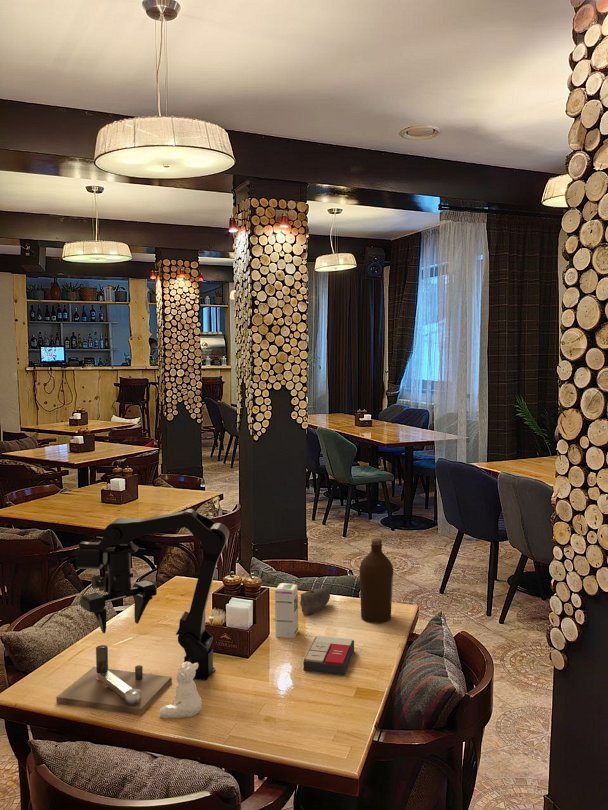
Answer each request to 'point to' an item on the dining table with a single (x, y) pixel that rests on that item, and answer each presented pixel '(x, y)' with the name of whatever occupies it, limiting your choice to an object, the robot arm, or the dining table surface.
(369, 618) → the olive oil
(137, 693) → the lever
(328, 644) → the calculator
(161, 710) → the sitting furry creature
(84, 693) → the board
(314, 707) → the dining table surface
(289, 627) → the syrup box
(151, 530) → the robot arm
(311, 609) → the perforated stone tool
